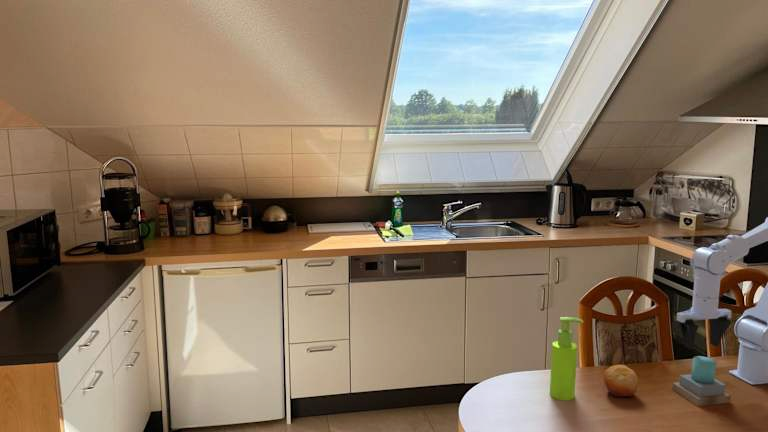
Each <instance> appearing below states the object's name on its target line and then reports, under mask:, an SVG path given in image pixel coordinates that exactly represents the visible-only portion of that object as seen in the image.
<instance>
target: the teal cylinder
mask: <svg viewBox="0 0 768 432" xmlns="http://www.w3.org/2000/svg"><path fill="white" fill-rule="evenodd" d="M716 369H717V360H715V359H714V358H711V357H708V356H701V355H696V356H693V359H692V367H691V373H690V374H691V378H692V379H693V380H695V381H697V382H701V383H706V384H711V383H714V379H715V376H716Z"/></svg>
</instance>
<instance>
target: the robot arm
mask: <svg viewBox="0 0 768 432" xmlns="http://www.w3.org/2000/svg"><path fill="white" fill-rule="evenodd" d="M765 242H768V217H766V218H765V221H764V222H763V223H762V224H760V225H758V226H756V227H755V228H753V229H751V230H749V231H748V232H745V233H744V234H742V235H741V236H740V235H738V234H729V235H726V238H725V239H722V240H721V241H718V242H716V243H715V242H714V243H712V244H711V245H710V246H708V247H704V246H701V247H698V248H697V249H696V250H695V251H694V252H693V253H692V256H691V257H690V264H691V266H692V271H693V272H692V273H693V275H694V279H693V281H694V283H693V291H692V292H693V294H692V305H691V307H690V308H689V309H687V310H685V311H680V312H677V313H676V324H677V325H678V327H679V329H680V332H681V334H682V338H683V339H682V340H683V343H684V344H683V345H684V347H685V348H687V349H689V350H693V348H694V345H695V340H696V339H695V338H696V334H697V331H698V330H699V327H700V325H698V324H695V321H701V320H702V321H703V320H708V323H709V331H710V332H709V343H710V345H712V346H714V347H719V345H720V342H721V340H722V338H723V335H724V334H725V333H726V331H727V330H728V328H729V327H731V325H732V321H731V320H730V319H732V314H733V313H732V310H731V309H727V308H719V298H720V290H721V289H720V288H721V277H722V274H723V273H724V272H725V271H726V270H727V269H728V267H729V266H730V265H731V263H734V262H735V261H737V260H739V259H741V258H743V257H745V256H747V255H748V254H749V253H750V252H749V251H750V249H751V248H754V247H755V246H759V245H761V244H763V243H765ZM733 327H734V328H733V332H734V335H735V336H736V337H737V338H738V339H737V342H738V343H739V349H738V359H737V369H732V370H729V371H728V373H729V374H731V375H732V376H735V377H736V378H738V379H741V381H744V382H746V383H748V384H750V385H763V384H768V282H767V283H766V285H765V287H764V288H763V290H762V293H761V295H760V297H759V299H758V300H757V303H756V305H755V306H754V307H750V308H748V309H746V310H744V311H743V314H742V315H741V316H740V317H739V318H738V319H737V320H736V322H735V323H734V326H733Z"/></svg>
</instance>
